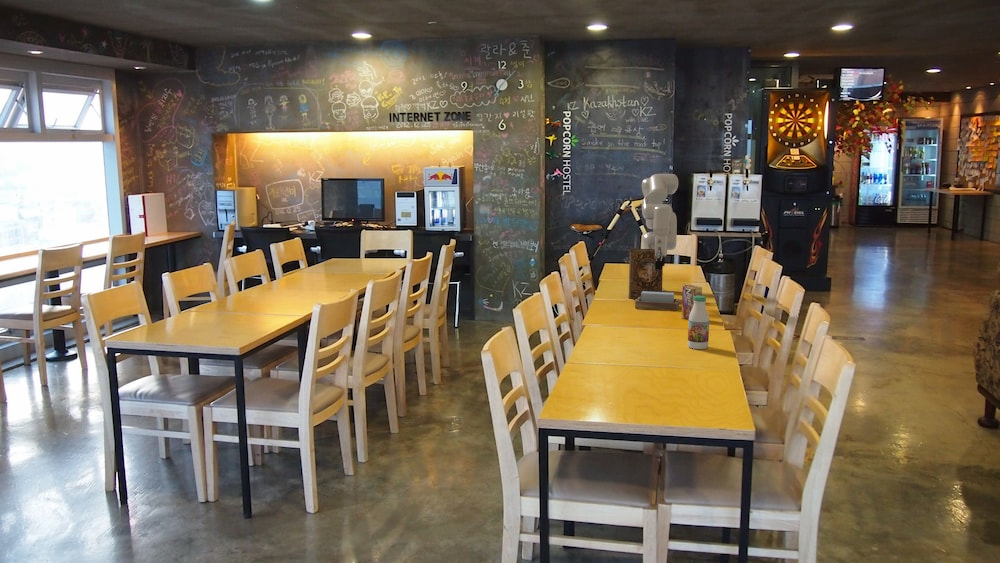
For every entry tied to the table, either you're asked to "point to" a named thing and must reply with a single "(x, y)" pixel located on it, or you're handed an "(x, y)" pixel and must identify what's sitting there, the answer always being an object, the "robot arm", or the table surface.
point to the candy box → (689, 299)
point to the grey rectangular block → (657, 297)
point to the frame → (657, 305)
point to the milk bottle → (698, 324)
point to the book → (643, 273)
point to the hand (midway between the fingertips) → (659, 267)
